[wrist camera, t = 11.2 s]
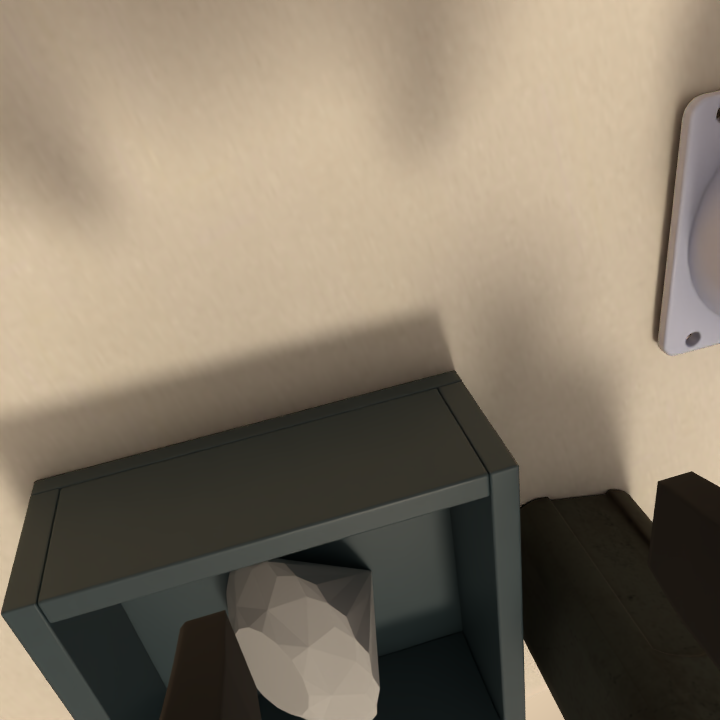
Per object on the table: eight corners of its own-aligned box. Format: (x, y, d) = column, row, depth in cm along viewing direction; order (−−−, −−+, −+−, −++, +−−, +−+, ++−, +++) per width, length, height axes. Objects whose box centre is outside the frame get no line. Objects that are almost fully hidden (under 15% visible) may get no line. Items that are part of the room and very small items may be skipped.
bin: (455, 369, 21) (520, 464, 17) (477, 624, 27) (526, 733, 24) (33, 481, 19) (-1, 614, 15) (168, 720, 26) (167, 854, 22)
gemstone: (453, 674, 23) (363, 797, 19) (316, 604, 26) (219, 697, 23) (443, 526, 20) (338, 636, 17) (294, 471, 24) (182, 552, 20)
